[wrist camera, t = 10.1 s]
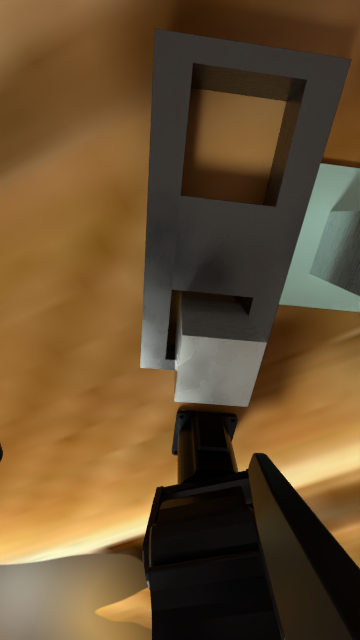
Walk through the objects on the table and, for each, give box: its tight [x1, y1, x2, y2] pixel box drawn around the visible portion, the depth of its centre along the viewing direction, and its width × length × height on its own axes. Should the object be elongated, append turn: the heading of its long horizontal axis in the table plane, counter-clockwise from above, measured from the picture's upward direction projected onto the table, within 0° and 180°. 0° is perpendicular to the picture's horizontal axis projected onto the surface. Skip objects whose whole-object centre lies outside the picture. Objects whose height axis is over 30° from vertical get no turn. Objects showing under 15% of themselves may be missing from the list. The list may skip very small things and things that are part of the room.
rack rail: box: [140, 29, 352, 376], centre depth 17 cm, size 20×10×2 cm, turn 174°
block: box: [174, 290, 267, 407], centre depth 17 cm, size 4×4×8 cm
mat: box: [279, 163, 360, 312], centre depth 18 cm, size 10×8×1 cm
